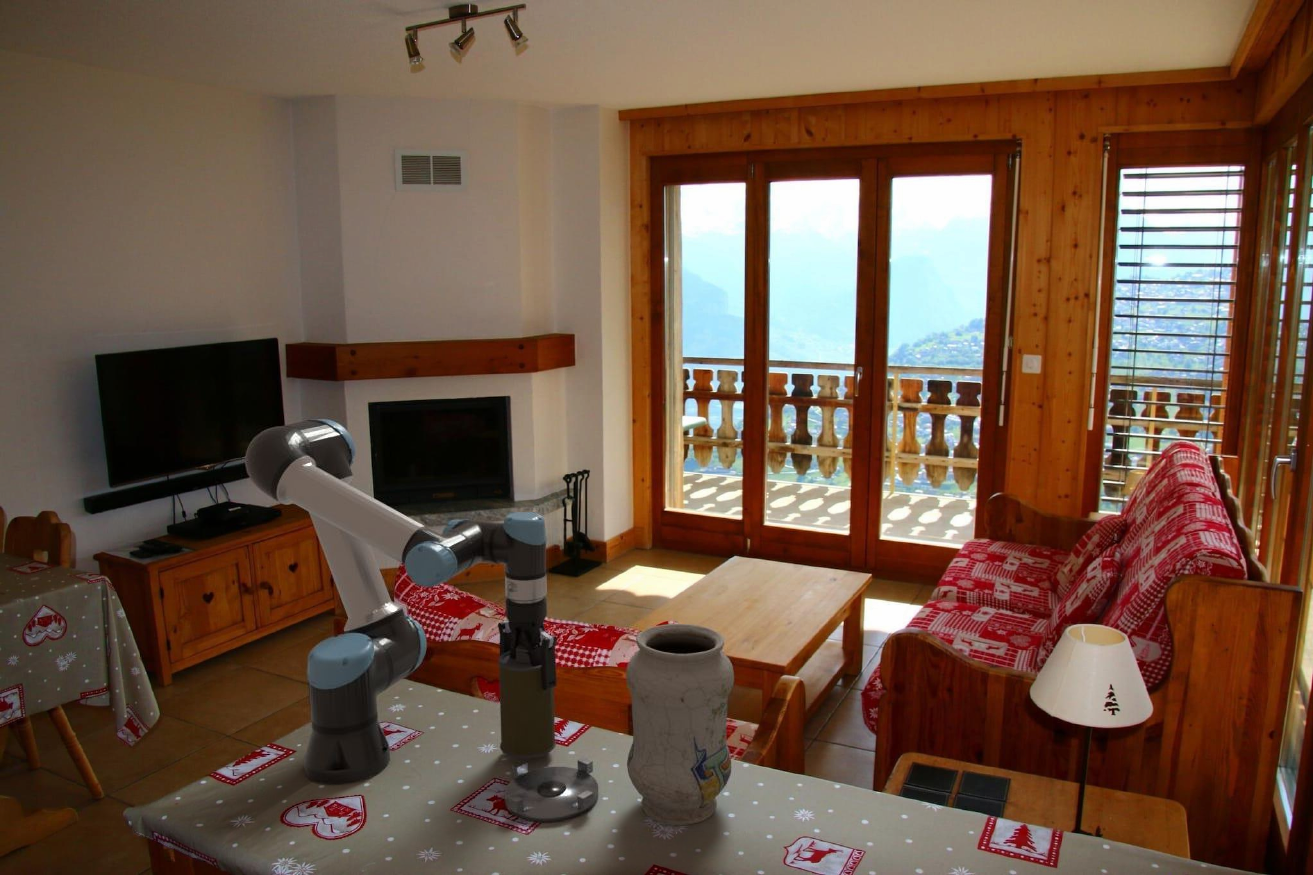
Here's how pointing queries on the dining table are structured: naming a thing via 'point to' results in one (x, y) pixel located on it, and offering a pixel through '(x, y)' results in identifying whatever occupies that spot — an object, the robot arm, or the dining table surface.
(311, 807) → the dining table surface
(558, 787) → the flange
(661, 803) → the vase
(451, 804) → the dining table surface
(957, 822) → the dining table surface
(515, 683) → the canister
